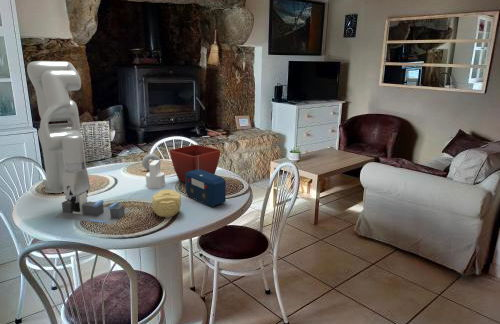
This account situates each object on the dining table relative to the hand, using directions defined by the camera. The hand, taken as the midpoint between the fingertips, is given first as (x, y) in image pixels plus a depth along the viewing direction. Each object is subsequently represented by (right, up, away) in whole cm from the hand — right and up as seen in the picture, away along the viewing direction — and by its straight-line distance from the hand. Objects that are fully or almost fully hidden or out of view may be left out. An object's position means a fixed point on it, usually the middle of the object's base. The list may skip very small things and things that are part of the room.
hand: (80, 208), depth 148 cm
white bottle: (0, -1, 0) cm, 1 cm away
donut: (+13, +14, +60) cm, 63 cm away
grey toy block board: (+6, -3, 0) cm, 7 cm away
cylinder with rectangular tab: (+21, +7, +37) cm, 43 cm away
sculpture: (+34, -3, +4) cm, 35 cm away
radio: (+48, +1, +20) cm, 52 cm away
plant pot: (+40, +9, +45) cm, 61 cm away
